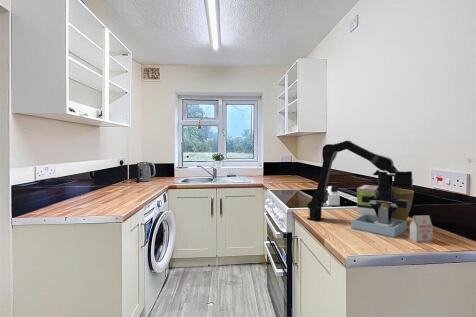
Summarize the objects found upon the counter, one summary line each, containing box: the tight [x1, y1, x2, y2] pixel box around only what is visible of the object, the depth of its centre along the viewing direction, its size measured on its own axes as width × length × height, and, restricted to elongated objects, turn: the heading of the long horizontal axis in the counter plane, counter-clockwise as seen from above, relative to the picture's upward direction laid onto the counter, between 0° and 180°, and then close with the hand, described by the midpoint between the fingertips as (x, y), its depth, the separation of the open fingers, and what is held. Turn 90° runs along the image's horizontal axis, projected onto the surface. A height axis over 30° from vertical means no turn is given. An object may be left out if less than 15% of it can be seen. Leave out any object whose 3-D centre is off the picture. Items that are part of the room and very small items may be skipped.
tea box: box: [356, 184, 382, 216], centre depth 153 cm, size 15×10×15 cm, turn 141°
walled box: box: [351, 214, 408, 239], centre depth 122 cm, size 16×18×4 cm
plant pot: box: [381, 188, 415, 221], centre depth 132 cm, size 15×15×16 cm
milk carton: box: [409, 214, 434, 243], centre depth 107 cm, size 4×7×10 cm, turn 96°
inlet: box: [374, 221, 396, 227], centre depth 120 cm, size 7×7×3 cm
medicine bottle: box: [325, 185, 341, 206], centre depth 175 cm, size 7×7×12 cm
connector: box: [378, 206, 391, 225], centre depth 120 cm, size 4×4×7 cm
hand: (384, 220), depth 120 cm, fingers closed on connector, 4 cm apart
